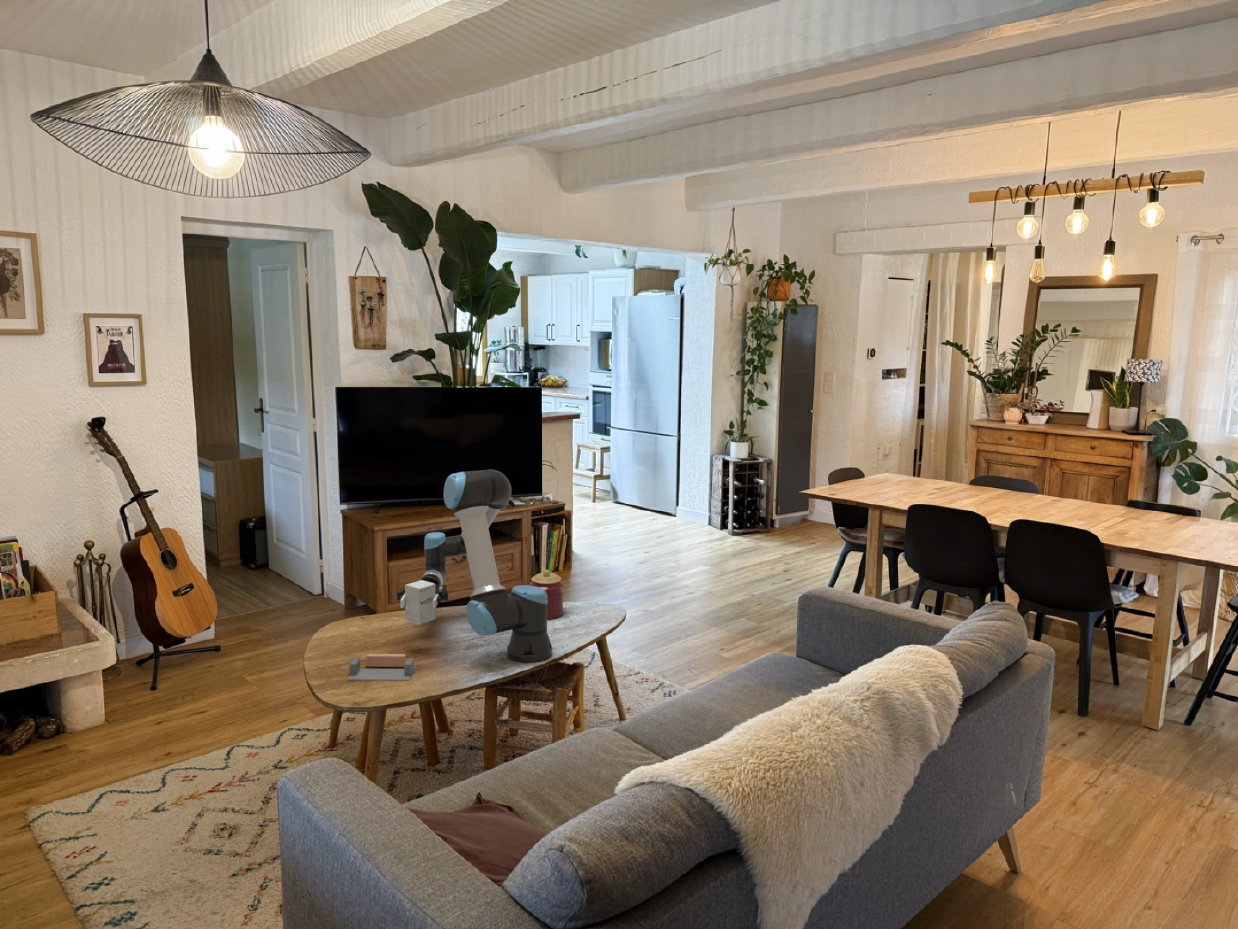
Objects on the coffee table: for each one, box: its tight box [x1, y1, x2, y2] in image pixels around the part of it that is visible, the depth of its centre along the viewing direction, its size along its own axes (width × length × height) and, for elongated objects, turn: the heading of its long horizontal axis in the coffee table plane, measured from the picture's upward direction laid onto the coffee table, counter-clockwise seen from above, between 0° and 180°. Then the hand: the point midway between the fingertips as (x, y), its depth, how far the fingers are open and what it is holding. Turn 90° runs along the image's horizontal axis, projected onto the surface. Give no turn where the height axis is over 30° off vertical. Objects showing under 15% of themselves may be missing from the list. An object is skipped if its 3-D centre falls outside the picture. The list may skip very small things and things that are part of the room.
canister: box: [529, 569, 564, 620], centre depth 320 cm, size 13×13×18 cm
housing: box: [346, 657, 415, 681], centre depth 264 cm, size 8×19×4 cm, turn 92°
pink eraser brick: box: [365, 653, 407, 668], centre depth 270 cm, size 2×12×4 cm, turn 92°
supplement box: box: [404, 580, 437, 626], centre depth 282 cm, size 7×7×13 cm
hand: (417, 604), depth 277 cm, fingers closed on supplement box, 10 cm apart
